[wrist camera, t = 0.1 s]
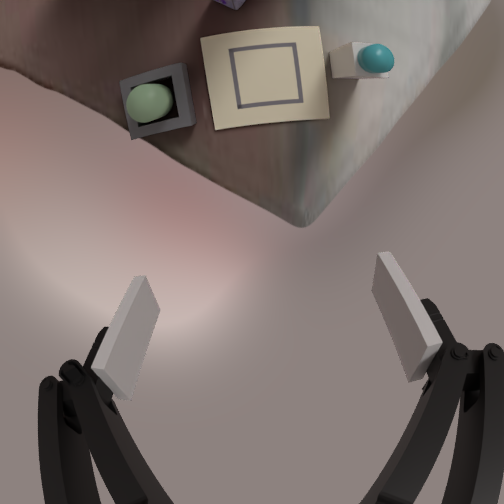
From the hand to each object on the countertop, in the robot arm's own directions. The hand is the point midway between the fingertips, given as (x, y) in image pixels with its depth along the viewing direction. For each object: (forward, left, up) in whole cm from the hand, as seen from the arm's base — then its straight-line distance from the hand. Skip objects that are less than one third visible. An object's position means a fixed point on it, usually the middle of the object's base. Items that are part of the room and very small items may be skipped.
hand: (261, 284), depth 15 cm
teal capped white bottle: (-13, +14, -28) cm, 34 cm away
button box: (-11, -12, -28) cm, 32 cm away
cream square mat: (-12, +3, -28) cm, 31 cm away
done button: (-11, -12, -26) cm, 31 cm away
